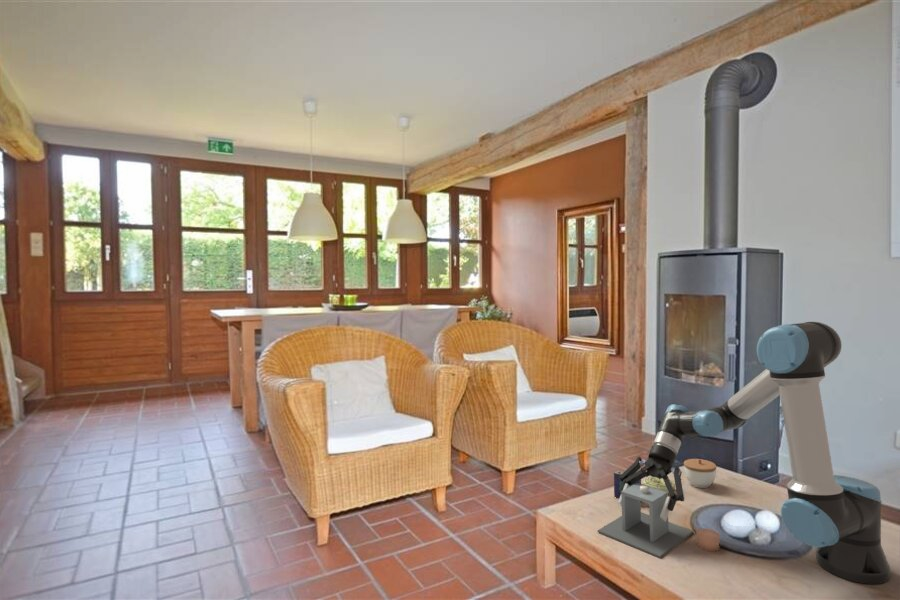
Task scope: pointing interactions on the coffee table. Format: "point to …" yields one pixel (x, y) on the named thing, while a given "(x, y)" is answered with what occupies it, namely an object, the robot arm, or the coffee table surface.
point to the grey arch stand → (633, 508)
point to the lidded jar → (700, 472)
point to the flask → (619, 483)
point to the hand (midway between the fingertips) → (640, 511)
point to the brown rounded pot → (708, 539)
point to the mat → (646, 536)
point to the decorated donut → (657, 483)
